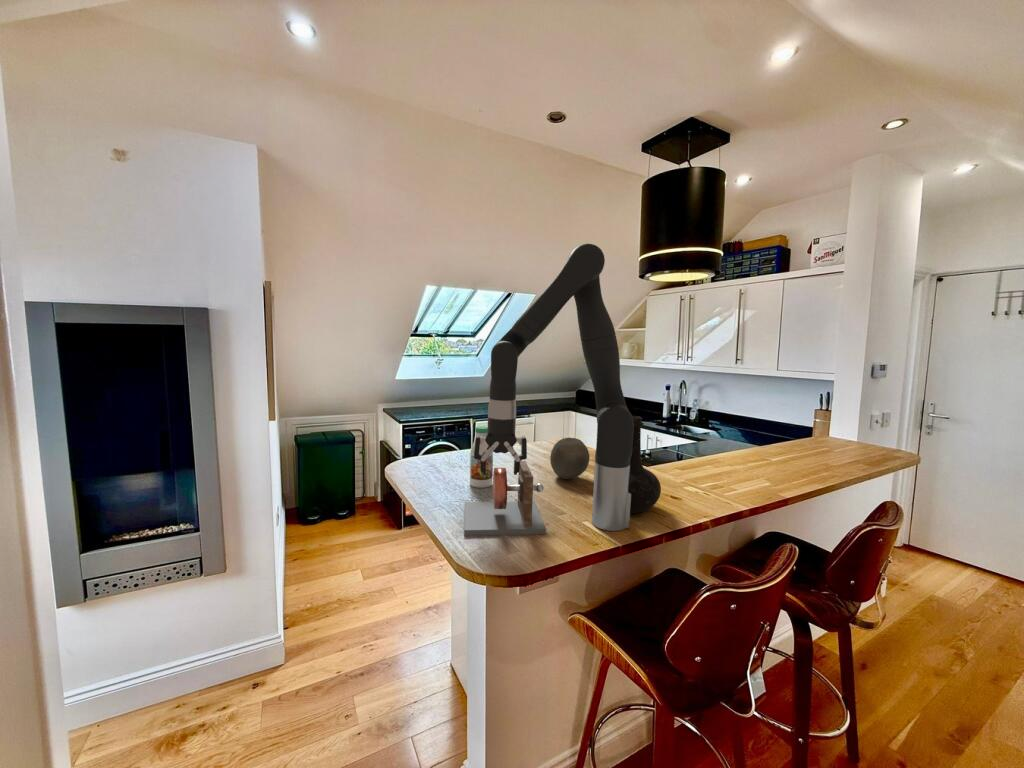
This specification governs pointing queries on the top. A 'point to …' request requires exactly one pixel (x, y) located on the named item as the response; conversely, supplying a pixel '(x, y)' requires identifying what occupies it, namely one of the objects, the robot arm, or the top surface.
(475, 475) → the milk bottle
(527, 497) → the brown wooden panel
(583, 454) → the dark brown ball
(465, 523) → the base board
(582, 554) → the top surface
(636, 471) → the dark bulbous vase
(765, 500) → the top surface
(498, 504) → the copper disc with rod
